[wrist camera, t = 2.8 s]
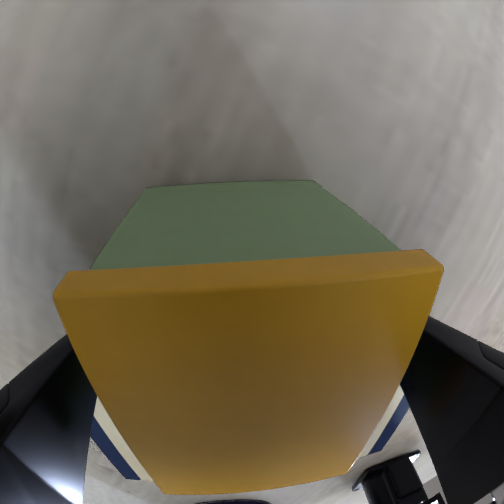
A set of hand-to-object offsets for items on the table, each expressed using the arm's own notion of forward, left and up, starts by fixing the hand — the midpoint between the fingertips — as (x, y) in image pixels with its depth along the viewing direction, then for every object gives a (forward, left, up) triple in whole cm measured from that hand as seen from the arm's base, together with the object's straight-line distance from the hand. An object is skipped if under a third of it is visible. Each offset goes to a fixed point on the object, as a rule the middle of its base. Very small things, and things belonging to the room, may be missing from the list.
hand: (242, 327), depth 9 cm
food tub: (0, 0, -3) cm, 3 cm away
